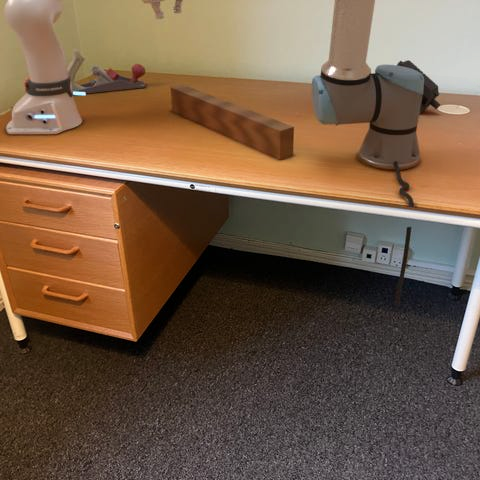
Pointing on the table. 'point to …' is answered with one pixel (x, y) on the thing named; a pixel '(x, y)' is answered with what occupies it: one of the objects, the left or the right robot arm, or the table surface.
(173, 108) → the bar
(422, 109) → the tool
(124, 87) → the hand plane
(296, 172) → the table surface
